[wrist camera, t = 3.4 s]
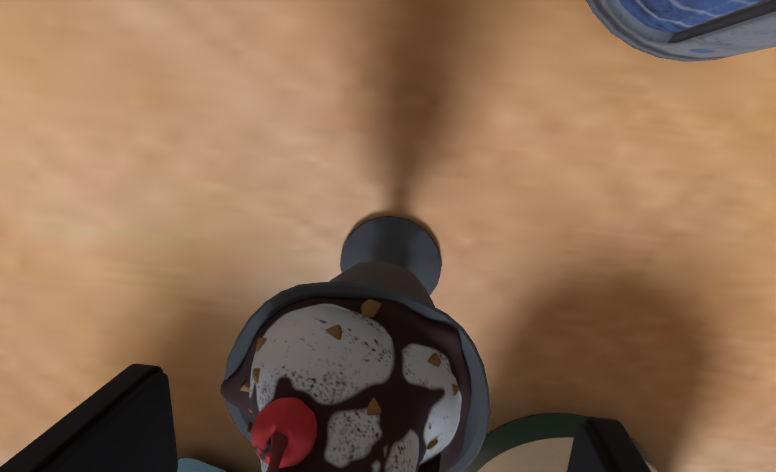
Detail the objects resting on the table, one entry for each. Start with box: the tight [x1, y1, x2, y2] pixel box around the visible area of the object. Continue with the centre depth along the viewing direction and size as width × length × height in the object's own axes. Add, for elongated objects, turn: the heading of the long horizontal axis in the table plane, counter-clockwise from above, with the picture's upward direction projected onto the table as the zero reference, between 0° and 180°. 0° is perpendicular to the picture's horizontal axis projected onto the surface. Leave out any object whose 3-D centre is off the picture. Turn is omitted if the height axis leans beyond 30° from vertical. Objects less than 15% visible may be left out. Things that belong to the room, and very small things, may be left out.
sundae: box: [220, 216, 491, 472], centre depth 12 cm, size 7×7×15 cm
